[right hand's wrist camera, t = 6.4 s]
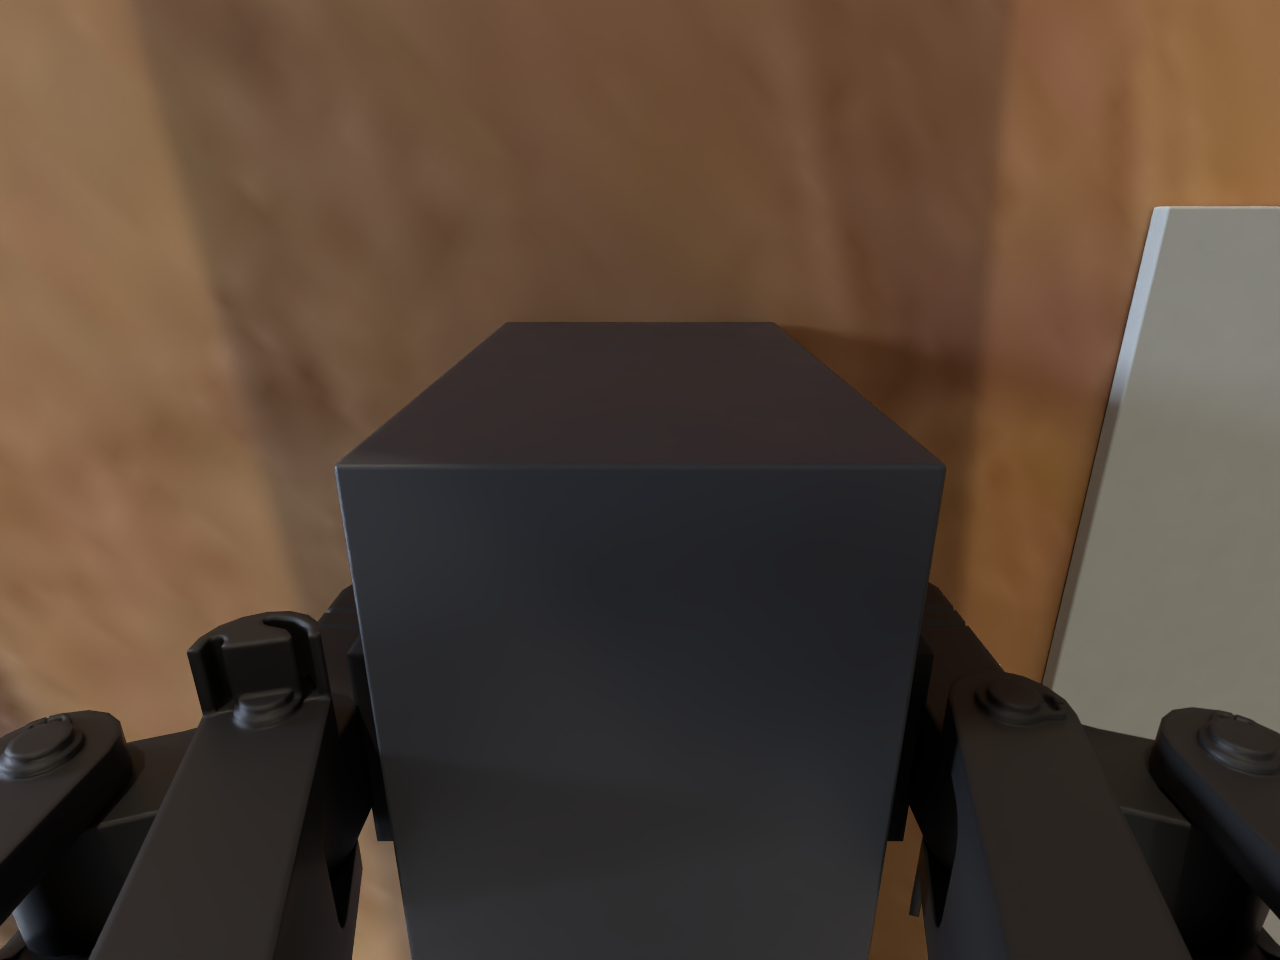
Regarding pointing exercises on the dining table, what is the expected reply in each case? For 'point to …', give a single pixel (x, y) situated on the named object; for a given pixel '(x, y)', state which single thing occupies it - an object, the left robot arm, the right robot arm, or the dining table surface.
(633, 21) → the dining table surface
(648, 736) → the charcoal beam
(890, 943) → the dining table surface
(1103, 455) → the grey rubber mat
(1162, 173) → the dining table surface
